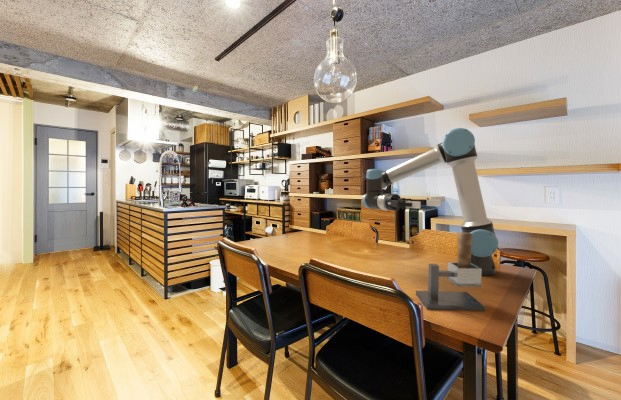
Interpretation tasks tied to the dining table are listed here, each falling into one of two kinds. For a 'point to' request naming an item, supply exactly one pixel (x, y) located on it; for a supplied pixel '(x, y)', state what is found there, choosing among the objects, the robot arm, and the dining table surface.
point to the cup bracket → (452, 299)
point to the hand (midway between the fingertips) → (430, 204)
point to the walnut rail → (464, 250)
